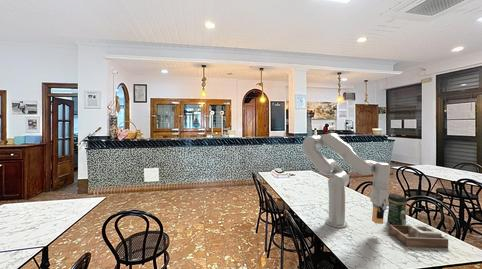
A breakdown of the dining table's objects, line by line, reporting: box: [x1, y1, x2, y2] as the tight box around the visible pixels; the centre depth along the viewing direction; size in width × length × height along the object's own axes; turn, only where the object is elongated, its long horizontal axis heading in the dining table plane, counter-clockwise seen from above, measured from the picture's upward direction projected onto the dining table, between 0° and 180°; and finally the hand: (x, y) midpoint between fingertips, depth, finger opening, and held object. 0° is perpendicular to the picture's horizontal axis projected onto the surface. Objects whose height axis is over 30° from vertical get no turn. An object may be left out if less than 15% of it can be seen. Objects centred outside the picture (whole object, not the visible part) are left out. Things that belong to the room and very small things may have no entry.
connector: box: [371, 203, 384, 225], centre depth 130 cm, size 4×4×10 cm
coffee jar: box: [386, 192, 408, 225], centre depth 146 cm, size 10×8×19 cm
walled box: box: [388, 224, 449, 249], centre depth 125 cm, size 16×20×6 cm
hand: (377, 216), depth 130 cm, fingers closed on connector, 4 cm apart
